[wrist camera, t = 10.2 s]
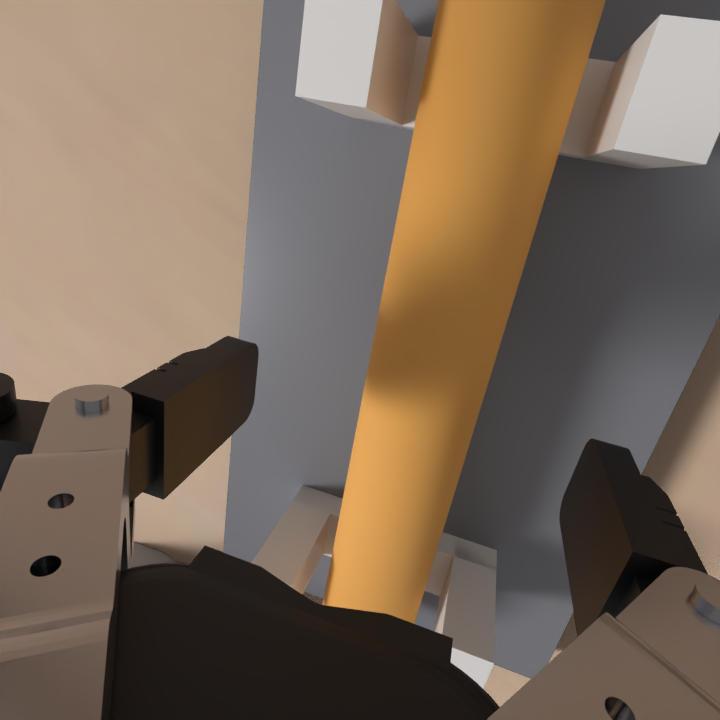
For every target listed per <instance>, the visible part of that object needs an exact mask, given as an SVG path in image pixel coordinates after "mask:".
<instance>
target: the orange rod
mask: <svg viewBox="0 0 720 720" xmlns="http://www.w3.org/2000/svg"><path fill="white" fill-rule="evenodd" d="M605 1H606V0H439V1H438V6H437V11H436V16H435V22H434V27H433V32H432V37H431V42H430V48H429V53H428V58H427V63H426V68H425V74H424V79H423V84H422V89H421V94H420V100H419V105H418V110H417V115H416V120H415V126H414V131H413V136H412V141H411V146H410V152H409V157H408V162H407V167H406V172H405V178H404V183H403V188H402V193H401V198H400V204H399V209H398V214H397V219H396V224H395V230H394V235H393V240H392V245H391V250H390V256H389V261H388V266H387V271H386V276H385V282H384V287H383V292H382V297H381V302H380V308H379V313H378V318H377V323H376V328H375V334H374V339H373V344H372V349H371V354H370V360H369V365H368V370H367V375H366V380H365V386H364V391H363V396H362V401H361V406H360V412H359V417H358V422H357V427H356V432H355V438H354V443H353V448H352V453H351V458H350V464H349V469H348V474H347V479H346V484H345V490H344V495H343V500H342V505H341V510H340V516H339V521H338V526H337V531H336V536H335V542H334V547H333V552H332V557H331V562H330V568H329V573H328V578H327V583H326V588H325V594H324V599H323V604H322V605H326V606H333V607H341V608H348V609H355V610H363V611H370V612H378V613H385V614H389V615H392V616H395V617H397V618H400V619H403V620H405V621H408V622H411V623H413V624H414V623H415V620H416V617H417V614H418V610H419V607H420V604H421V601H422V597H423V594H424V591H425V588H426V584H427V581H428V578H429V575H430V571H431V568H432V565H433V561H434V558H435V555H436V552H437V548H438V545H439V542H440V539H441V535H442V532H443V529H444V526H445V522H446V519H447V516H448V513H449V509H450V506H451V503H452V500H453V496H454V493H455V490H456V487H457V483H458V480H459V477H460V474H461V470H462V467H463V464H464V461H465V457H466V454H467V451H468V447H469V444H470V441H471V438H472V434H473V431H474V428H475V425H476V421H477V418H478V415H479V412H480V408H481V405H482V402H483V399H484V395H485V392H486V389H487V386H488V382H489V379H490V376H491V373H492V369H493V366H494V363H495V360H496V356H497V353H498V350H499V346H500V343H501V340H502V337H503V333H504V330H505V327H506V324H507V320H508V317H509V314H510V311H511V307H512V304H513V301H514V298H515V294H516V291H517V288H518V285H519V281H520V278H521V275H522V272H523V268H524V265H525V262H526V259H527V255H528V252H529V249H530V245H531V242H532V239H533V236H534V232H535V229H536V226H537V223H538V219H539V216H540V213H541V210H542V206H543V203H544V200H545V197H546V193H547V190H548V187H549V184H550V180H551V177H552V174H553V171H554V167H555V164H556V161H557V158H558V154H559V151H560V148H561V144H562V141H563V138H564V135H565V131H566V128H567V125H568V122H569V118H570V115H571V112H572V109H573V105H574V102H575V99H576V96H577V92H578V89H579V86H580V83H581V79H582V76H583V73H584V70H585V66H586V63H587V60H588V57H589V53H590V50H591V47H592V43H593V40H594V37H595V34H596V30H597V27H598V24H599V21H600V17H601V14H602V11H603V8H604V4H605Z"/></svg>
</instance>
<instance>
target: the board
mask: <svg viewBox="0 0 720 720" xmlns="http://www.w3.org/2000/svg"><path fill="white" fill-rule="evenodd" d="M438 1H439V0H264V6H263V19H262V33H261V46H260V60H259V73H258V87H257V100H256V114H255V128H254V141H253V155H252V168H251V182H250V195H249V209H248V223H247V236H246V250H245V263H244V277H243V290H242V304H241V317H240V331H239V339H241V340H244V341H248V342H251V343H255V344H256V345H257V346H258V350H259V357H258V368H257V378H256V389H255V399H254V405H253V408H252V411H251V413H250V415H249V417H248V419H247V420H246V422H245V423H244V424H243V425H242V426H240V427H239V428H238V429H237V430H236V431H235V432H234V433H233V434H232V439H231V453H230V467H229V480H228V494H227V507H226V521H225V534H224V548H223V553H226V554H228V555H231V556H234V557H237V558H239V559H242V560H245V561H247V562H250V563H253V564H255V565H258V566H261V567H262V568H264V569H265V570H267V571H268V572H270V573H271V574H273V575H274V576H276V577H277V578H279V579H280V580H281V581H283V582H284V583H286V584H287V585H289V586H290V587H292V588H293V589H295V590H296V591H298V592H299V593H301V594H302V595H303V593H304V592H305V593H308V594H311V595H313V596H316V597H319V598H321V599H324V594H325V588H326V583H327V578H328V573H329V568H330V562H331V557H332V552H333V547H334V542H335V536H336V531H337V526H338V521H339V516H340V510H341V505H342V500H343V495H344V490H345V484H346V479H347V474H348V469H349V464H350V458H351V453H352V448H353V443H354V438H355V432H356V427H357V422H358V417H359V412H360V406H361V401H362V396H363V391H364V386H365V380H366V375H367V370H368V365H369V360H370V354H371V349H372V344H373V339H374V334H375V328H376V323H377V318H378V313H379V308H380V302H381V297H382V292H383V287H384V282H385V276H386V271H387V266H388V261H389V256H390V250H391V245H392V240H393V235H394V230H395V224H396V219H397V214H398V209H399V204H400V198H401V193H402V188H403V183H404V178H405V172H406V167H407V162H408V157H409V152H410V146H411V141H412V136H413V131H414V126H415V120H416V115H417V110H418V105H419V100H420V94H421V89H422V84H423V79H424V74H425V68H426V63H427V58H428V53H429V48H430V42H431V37H432V32H433V27H434V22H435V16H436V11H437V6H438ZM719 316H720V0H606V1H605V4H604V8H603V11H602V14H601V17H600V21H599V24H598V27H597V30H596V34H595V37H594V40H593V43H592V47H591V50H590V53H589V57H588V60H587V63H586V66H585V70H584V73H583V76H582V79H581V83H580V86H579V89H578V92H577V96H576V99H575V102H574V105H573V109H572V112H571V115H570V118H569V122H568V125H567V128H566V131H565V135H564V138H563V141H562V144H561V148H560V151H559V154H558V158H557V161H556V164H555V167H554V171H553V174H552V177H551V180H550V184H549V187H548V190H547V193H546V197H545V200H544V203H543V206H542V210H541V213H540V216H539V219H538V223H537V226H536V229H535V232H534V236H533V239H532V242H531V245H530V249H529V252H528V255H527V259H526V262H525V265H524V268H523V272H522V275H521V278H520V281H519V285H518V288H517V291H516V294H515V298H514V301H513V304H512V307H511V311H510V314H509V317H508V320H507V324H506V327H505V330H504V333H503V337H502V340H501V343H500V346H499V350H498V353H497V356H496V360H495V363H494V366H493V369H492V373H491V376H490V379H489V382H488V386H487V389H486V392H485V395H484V399H483V402H482V405H481V408H480V412H479V415H478V418H477V421H476V425H475V428H474V431H473V434H472V438H471V441H470V444H469V447H468V451H467V454H466V457H465V461H464V464H463V467H462V470H461V474H460V477H459V480H458V483H457V487H456V490H455V493H454V496H453V500H452V503H451V506H450V509H449V513H448V516H447V519H446V522H445V526H444V529H443V532H442V535H441V539H440V542H439V545H438V548H437V552H436V555H435V558H434V561H433V565H432V568H431V571H430V575H429V578H428V581H427V584H426V588H425V591H424V594H423V597H422V601H421V604H420V607H419V610H418V614H417V617H416V620H415V623H414V624H416V625H419V626H421V627H424V628H427V629H429V630H432V631H435V632H437V633H440V634H443V635H445V636H448V637H451V638H453V644H452V653H451V663H452V664H454V665H455V666H456V667H458V668H459V669H461V670H462V671H463V672H464V673H466V674H467V675H468V676H469V677H471V678H472V679H473V680H474V681H475V682H477V683H478V684H479V685H480V686H481V687H482V688H484V685H485V683H486V681H487V678H488V676H489V674H490V671H491V669H492V667H493V664H494V665H497V666H499V667H502V668H505V669H507V670H510V671H513V672H515V673H518V674H520V675H523V676H526V677H528V678H531V679H532V678H533V677H534V676H535V675H536V674H537V673H538V672H540V671H541V670H542V669H543V668H544V667H545V666H546V665H547V664H548V663H549V661H550V659H551V657H552V655H553V653H554V651H555V648H556V646H557V644H558V642H559V640H560V638H561V636H562V634H563V632H564V630H565V628H566V626H567V624H568V622H569V620H570V618H571V616H572V614H573V612H574V611H573V605H572V598H571V592H570V586H569V579H568V573H567V567H566V560H565V554H564V548H563V541H562V535H561V529H560V522H559V515H560V507H561V503H562V499H563V496H564V493H565V491H566V489H567V486H568V484H569V482H570V479H571V477H572V474H573V472H574V470H575V467H576V465H577V463H578V460H579V458H580V456H581V453H582V451H583V449H584V447H585V445H586V443H587V442H588V441H589V440H590V439H592V438H593V439H597V440H600V441H604V442H607V443H611V444H614V445H618V446H622V447H625V448H628V449H629V450H630V452H631V454H632V456H633V458H634V460H635V463H636V465H637V467H638V469H639V471H640V474H642V472H643V470H644V468H645V466H646V464H647V462H648V460H649V458H650V456H651V454H652V452H653V450H654V448H655V446H656V444H657V442H658V440H659V438H660V436H661V434H662V432H663V430H664V428H665V426H666V424H667V421H668V419H669V417H670V415H671V413H672V411H673V409H674V407H675V405H676V403H677V401H678V399H679V397H680V395H681V393H682V391H683V389H684V387H685V385H686V383H687V381H688V379H689V377H690V375H691V373H692V371H693V369H694V367H695V365H696V363H697V361H698V359H699V357H700V355H701V353H702V351H703V349H704V346H705V344H706V342H707V340H708V338H709V336H710V334H711V332H712V330H713V328H714V326H715V324H716V322H717V320H718V318H719Z"/></svg>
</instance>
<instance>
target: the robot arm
mask: <svg viewBox="0 0 720 720" xmlns="http://www.w3.org/2000/svg"><path fill="white" fill-rule="evenodd" d="M258 357H259V350H258V346H257V345H256V344H255V343H251V342H248V341H244V340H241V339H237V338H234V337H230V336H226V337H224V338H222V339H221V340H219V341H217V342H216V343H214V344H212V345H210V346H209V347H207V348H205V349H204V348H203V349H199V350H195V351H191V352H186V353H183V354H181V355H179V356H178V357H176V358H174V359H172V360H170V361H169V363H165V364H163V365H161V366H160V367H158V368H157V370H155V369H154V370H152V371H151V372H149V373H147V374H145V375H143V376H142V377H140V378H138V379H136V380H134V381H133V382H131V383H129V384H127V385H125V386H124V387H122V388H119V387H115V386H110V385H84V386H79V387H74V388H71V389H68V390H65V391H63V392H61V393H59V394H58V395H56V396H55V397H54V398H53V399H52V400H51V402H50V403H49V402H39V401H30V400H20V399H16V392H15V385H14V381H13V379H12V378H11V377H10V376H8V375H6V374H3V373H0V720H720V580H718V579H716V578H714V577H712V576H710V575H708V573H707V571H706V570H705V568H704V566H703V564H702V562H701V560H700V558H699V556H698V554H697V552H696V550H695V548H694V546H693V544H692V542H691V540H690V538H689V536H688V534H687V532H686V531H684V526H683V524H682V522H681V520H680V518H679V517H678V516H676V514H677V512H676V510H675V509H674V507H673V505H672V503H671V501H670V499H669V497H668V495H667V494H666V493H665V492H664V491H663V490H662V489H661V488H660V487H659V486H658V485H657V484H656V483H655V482H654V481H653V480H652V479H651V478H650V477H646V476H643V475H641V474H640V471H639V469H638V467H637V465H636V463H635V460H634V458H633V456H632V454H631V452H630V450H629V449H628V448H625V447H622V446H618V445H614V444H611V443H607V442H604V441H600V440H597V439H593V438H592V439H590V440H589V441H588V442H587V443H586V445H585V447H584V449H583V451H582V453H581V456H580V458H579V460H578V463H577V465H576V467H575V470H574V472H573V474H572V477H571V479H570V482H569V484H568V486H567V489H566V491H565V493H564V496H563V499H562V503H561V507H560V515H559V522H560V529H561V535H562V541H563V548H564V554H565V560H566V567H567V573H568V579H569V586H570V592H571V598H572V605H573V611H574V618H575V624H576V630H577V638H576V639H575V640H574V641H573V642H572V643H570V644H569V645H568V646H567V647H566V648H565V649H564V650H563V651H562V652H561V653H559V654H558V655H557V656H556V657H555V658H554V659H553V660H552V661H551V662H549V663H548V664H547V665H546V666H545V667H544V668H543V669H542V670H541V671H540V672H538V673H537V674H536V675H535V676H534V677H533V678H532V679H531V680H530V681H528V682H527V683H526V684H525V685H524V686H523V687H522V688H521V689H520V690H519V691H517V692H516V693H515V694H514V695H513V696H512V697H511V698H510V699H509V700H508V701H506V702H505V703H504V704H503V705H502V706H501V707H499V706H498V705H497V703H496V702H495V701H494V700H493V699H492V698H491V696H490V695H489V694H488V693H487V692H486V691H485V690H484V689H483V688H482V687H481V686H480V685H479V684H478V683H477V682H475V681H474V680H473V679H472V678H471V677H469V676H468V675H467V674H466V673H464V672H463V671H462V670H461V669H459V668H458V667H456V666H455V665H454V664H452V663H451V653H452V644H453V638H451V637H448V636H445V635H443V634H440V633H437V632H435V631H432V630H429V629H427V628H424V627H421V626H419V625H416V624H413V623H411V622H408V621H405V620H403V619H400V618H397V617H395V616H392V615H389V614H385V613H378V612H370V611H363V610H355V609H348V608H341V607H333V606H326V605H320V604H317V603H315V602H313V601H311V600H309V599H308V598H306V597H305V596H303V595H302V594H301V593H299V592H298V591H296V590H295V589H293V588H292V587H290V586H289V585H287V584H286V583H284V582H283V581H281V580H280V579H279V578H277V577H276V576H274V575H273V574H271V573H270V572H268V571H267V570H265V569H264V568H262V567H261V566H258V565H255V564H253V563H250V562H247V561H245V560H242V559H239V558H237V557H234V556H231V555H228V554H226V553H223V552H220V551H218V550H215V549H212V548H210V547H207V546H204V548H203V549H202V550H201V551H200V552H199V554H198V555H197V556H196V557H195V559H194V560H193V561H192V562H191V564H188V563H156V564H148V565H142V566H136V567H133V546H134V524H135V498H136V497H137V496H138V495H140V494H141V493H142V492H144V493H147V494H149V495H152V496H155V497H158V498H161V499H163V500H164V499H165V498H166V497H167V496H168V495H169V494H170V493H171V492H172V491H173V490H174V489H175V488H176V487H178V486H179V485H180V484H181V483H182V482H183V481H184V480H185V479H186V478H187V477H188V476H189V475H190V474H191V473H192V472H193V471H194V470H195V469H196V468H197V467H198V466H200V465H201V464H202V463H203V462H204V461H205V460H206V459H207V458H208V457H209V456H210V455H211V454H212V453H213V452H214V451H215V450H216V449H217V448H218V447H219V446H221V445H222V444H223V443H224V442H225V441H226V440H227V439H228V438H229V437H230V436H231V435H232V434H233V433H234V432H235V431H236V430H237V429H238V428H239V427H240V426H242V425H243V424H244V423H245V422H246V420H247V419H248V417H249V415H250V413H251V411H252V408H253V405H254V399H255V389H256V378H257V368H258Z"/></svg>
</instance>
